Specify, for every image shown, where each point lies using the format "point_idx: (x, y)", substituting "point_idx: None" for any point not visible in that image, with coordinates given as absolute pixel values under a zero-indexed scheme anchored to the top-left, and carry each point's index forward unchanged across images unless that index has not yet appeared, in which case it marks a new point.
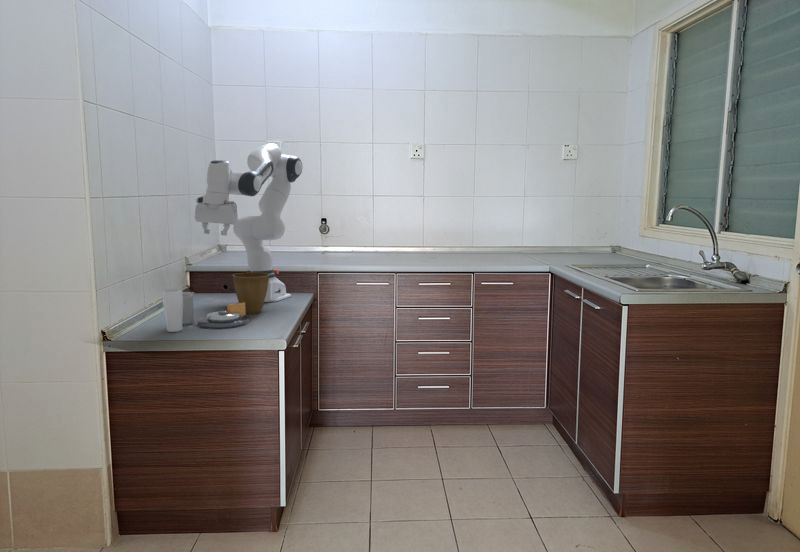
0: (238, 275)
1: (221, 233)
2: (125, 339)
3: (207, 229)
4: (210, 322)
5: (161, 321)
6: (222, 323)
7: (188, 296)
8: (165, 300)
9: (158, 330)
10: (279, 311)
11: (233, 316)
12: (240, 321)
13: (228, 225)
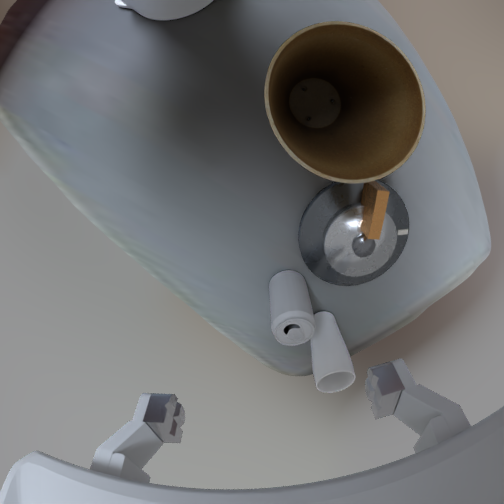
0: (270, 107)
1: (373, 398)
2: (300, 371)
3: (151, 428)
4: None
5: (224, 298)
6: None
7: (314, 327)
8: (332, 377)
9: None
10: None
11: (395, 242)
12: (405, 231)
13: (458, 427)
